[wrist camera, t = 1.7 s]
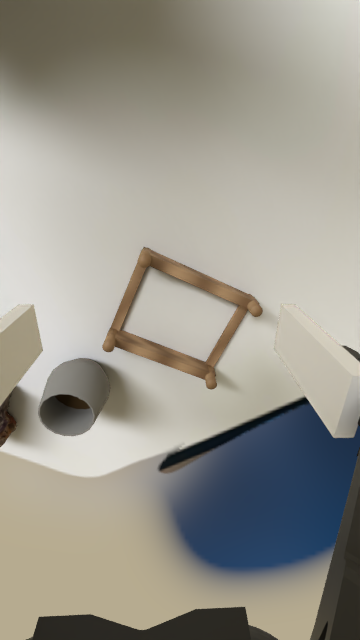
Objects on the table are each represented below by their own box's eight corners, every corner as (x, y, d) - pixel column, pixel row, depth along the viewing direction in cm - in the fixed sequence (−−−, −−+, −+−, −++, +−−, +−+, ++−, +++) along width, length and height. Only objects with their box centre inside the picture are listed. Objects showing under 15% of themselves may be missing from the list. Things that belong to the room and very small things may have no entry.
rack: (107, 333, 46) (100, 349, 41) (143, 245, 40) (140, 253, 36) (209, 372, 50) (213, 390, 45) (254, 296, 44) (264, 308, 40)
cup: (113, 350, 47) (100, 389, 38) (114, 396, 51) (103, 441, 42) (53, 347, 46) (26, 386, 37) (58, 394, 50) (35, 440, 41)
